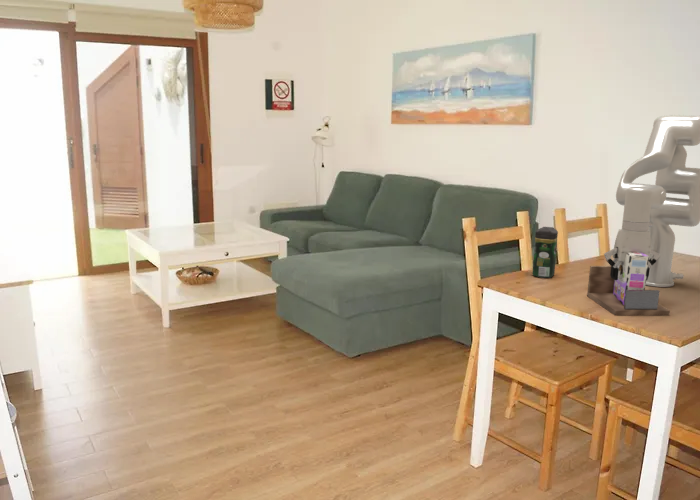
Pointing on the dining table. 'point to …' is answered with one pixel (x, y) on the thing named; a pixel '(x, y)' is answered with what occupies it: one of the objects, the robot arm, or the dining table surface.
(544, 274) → the coffee jar
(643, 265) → the candy box
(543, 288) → the dining table surface
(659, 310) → the wooden shelf
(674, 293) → the dining table surface
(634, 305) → the grey flat slab
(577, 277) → the dining table surface
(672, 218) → the robot arm
